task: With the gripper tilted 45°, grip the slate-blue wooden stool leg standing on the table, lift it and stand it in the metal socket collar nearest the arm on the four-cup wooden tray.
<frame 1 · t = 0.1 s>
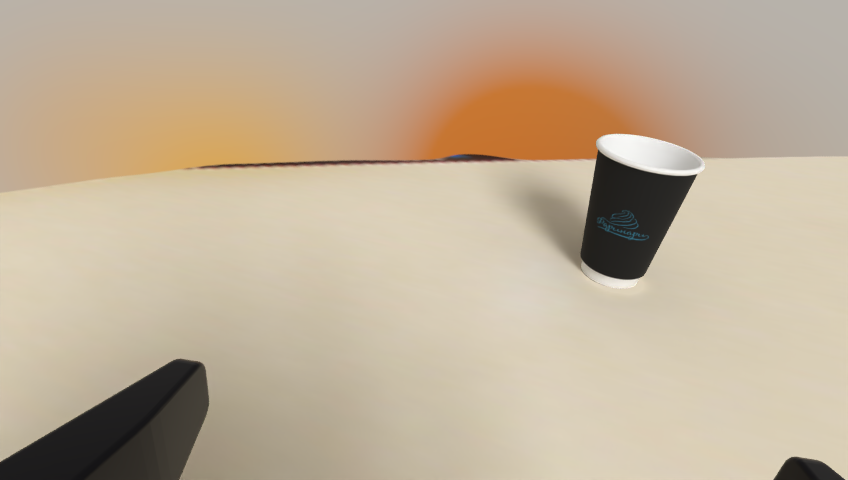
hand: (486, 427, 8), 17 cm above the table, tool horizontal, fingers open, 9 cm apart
dixie cup: (608, 274, 46), on the table
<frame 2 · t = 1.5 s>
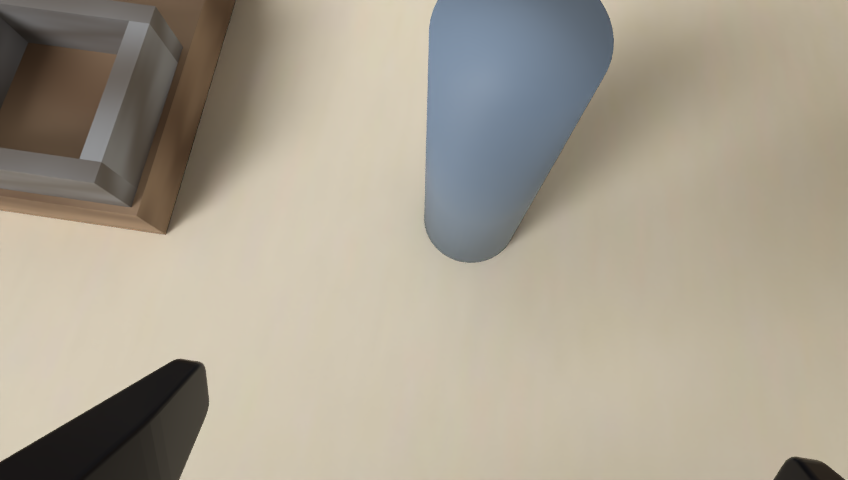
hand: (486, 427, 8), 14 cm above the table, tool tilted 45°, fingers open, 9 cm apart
stool leg: (469, 218, 24), on the table
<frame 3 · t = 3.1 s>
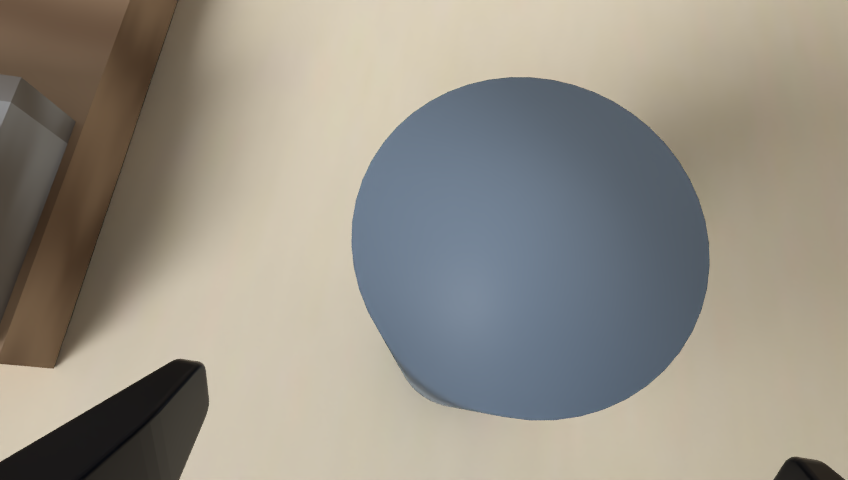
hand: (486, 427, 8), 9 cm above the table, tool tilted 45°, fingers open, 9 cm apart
stool leg: (456, 344, 18), on the table
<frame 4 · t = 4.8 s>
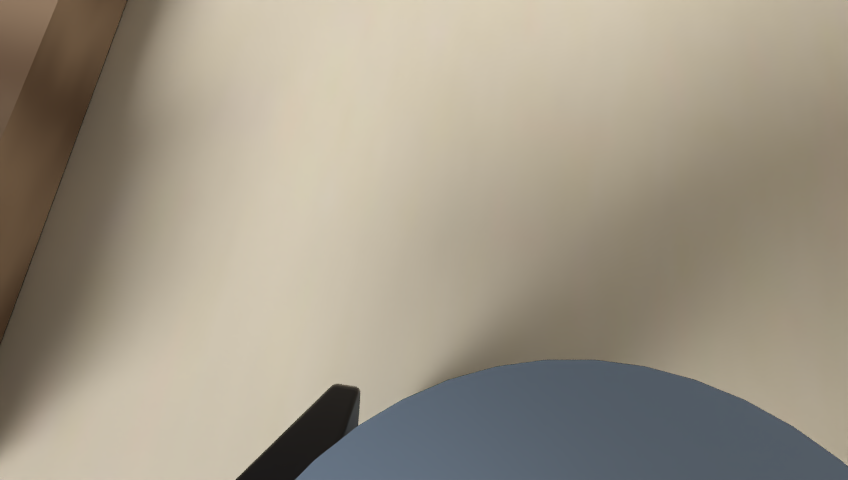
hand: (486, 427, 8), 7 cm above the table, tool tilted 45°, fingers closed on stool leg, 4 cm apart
stool leg: (451, 468, 14), on the table, touching gripper
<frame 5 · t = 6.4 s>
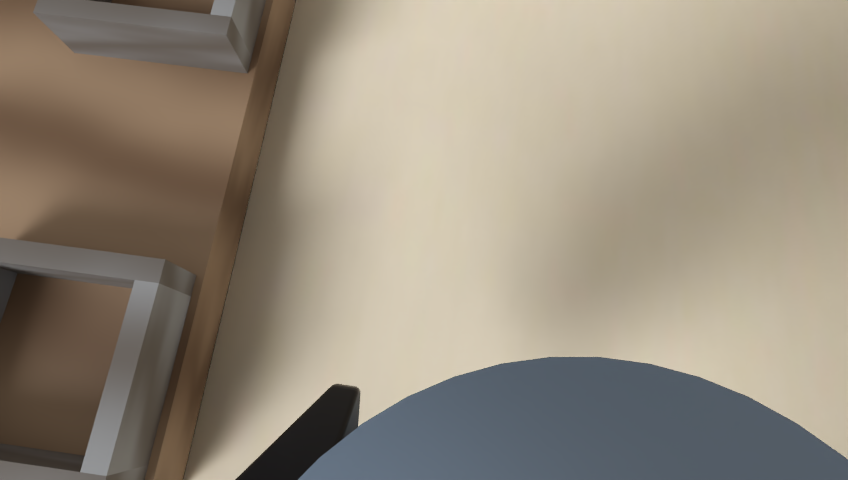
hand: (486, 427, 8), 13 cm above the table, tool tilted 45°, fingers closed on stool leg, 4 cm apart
stool leg: (452, 468, 14), point 7 cm above the table, touching gripper
when the fingers open (10 cm above the table, at t = 8.3 s): stool leg drops 1 cm, resting on four-cup wooden tray.
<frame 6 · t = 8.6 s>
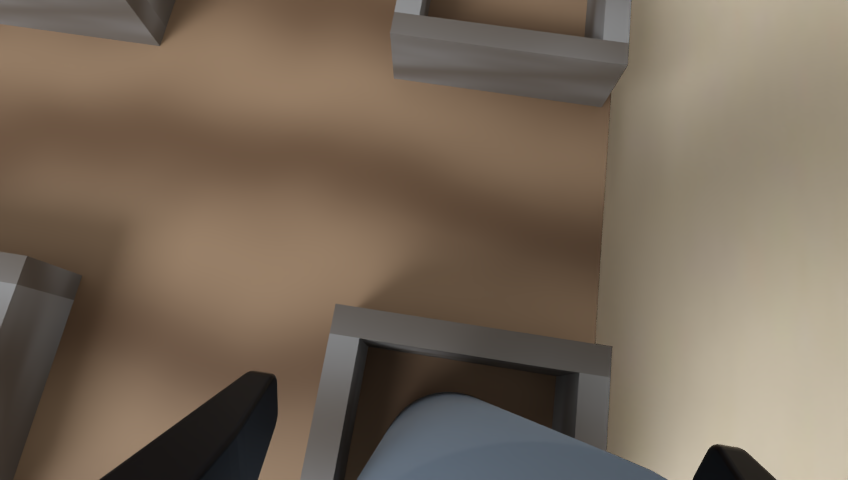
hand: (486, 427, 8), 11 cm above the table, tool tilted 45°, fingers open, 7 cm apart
stool leg: (448, 463, 16), point 3 cm above the table, touching four-cup wooden tray
four-cup wooden tray: (267, 197, 21), on the table
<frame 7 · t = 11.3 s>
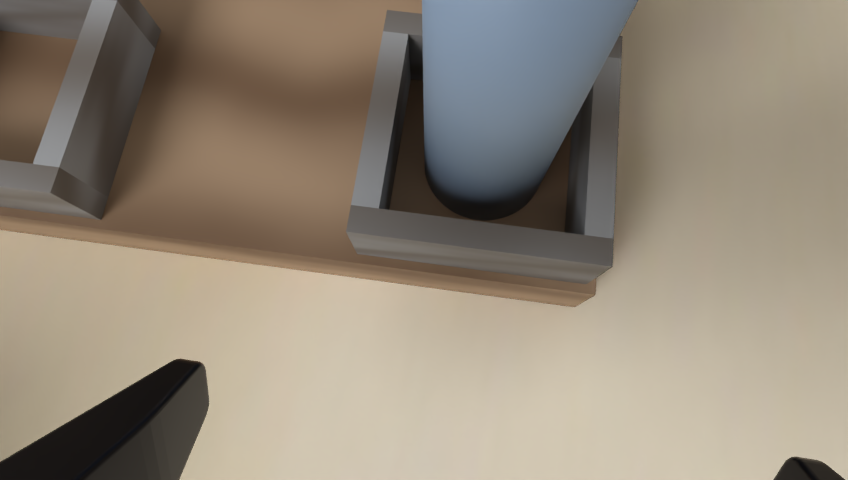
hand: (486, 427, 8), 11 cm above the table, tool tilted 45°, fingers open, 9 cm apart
stool leg: (483, 164, 18), point 3 cm above the table, touching four-cup wooden tray
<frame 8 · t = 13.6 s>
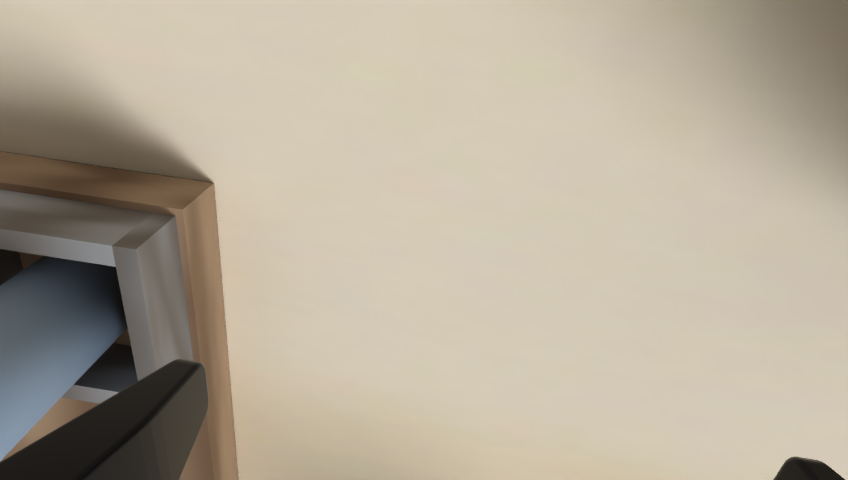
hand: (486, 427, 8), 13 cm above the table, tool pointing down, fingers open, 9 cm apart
stool leg: (95, 285, 21), point 2 cm above the table, touching four-cup wooden tray
four-cup wooden tray: (4, 364, 28), on the table
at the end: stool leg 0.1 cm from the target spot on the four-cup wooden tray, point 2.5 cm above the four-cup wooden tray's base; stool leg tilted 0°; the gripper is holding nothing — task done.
